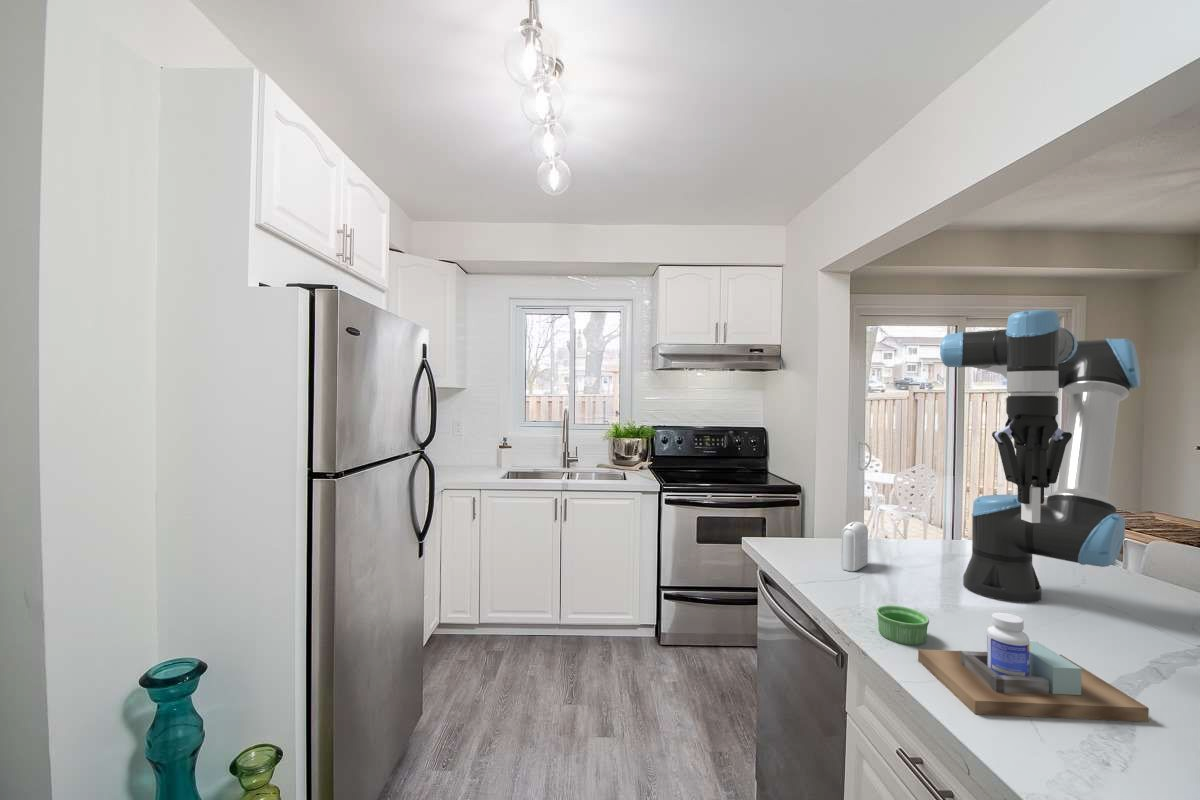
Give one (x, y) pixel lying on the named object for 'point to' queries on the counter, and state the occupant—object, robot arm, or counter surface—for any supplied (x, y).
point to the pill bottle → (1008, 646)
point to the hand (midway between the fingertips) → (1030, 521)
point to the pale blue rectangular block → (1054, 670)
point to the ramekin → (902, 624)
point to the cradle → (1026, 691)
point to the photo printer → (854, 546)
